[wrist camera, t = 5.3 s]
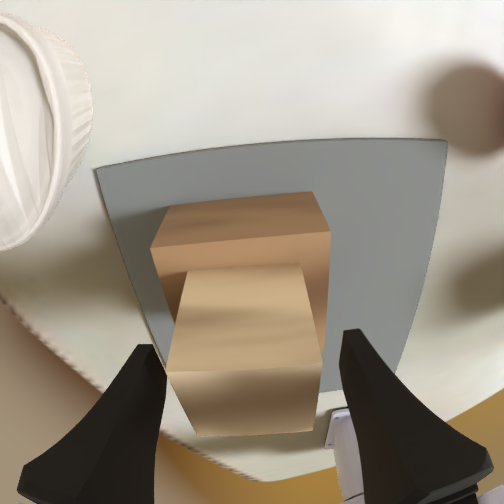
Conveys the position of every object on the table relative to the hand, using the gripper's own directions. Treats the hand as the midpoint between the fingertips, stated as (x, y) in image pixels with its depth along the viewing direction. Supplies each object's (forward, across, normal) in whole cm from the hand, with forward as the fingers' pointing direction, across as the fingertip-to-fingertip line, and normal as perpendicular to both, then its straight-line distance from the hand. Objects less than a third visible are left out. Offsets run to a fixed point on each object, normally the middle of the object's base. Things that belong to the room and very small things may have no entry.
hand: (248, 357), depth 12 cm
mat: (+7, -2, +4) cm, 8 cm away
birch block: (+3, 0, 0) cm, 3 cm away
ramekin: (+7, +11, -10) cm, 17 cm away
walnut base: (+7, 0, 0) cm, 7 cm away
